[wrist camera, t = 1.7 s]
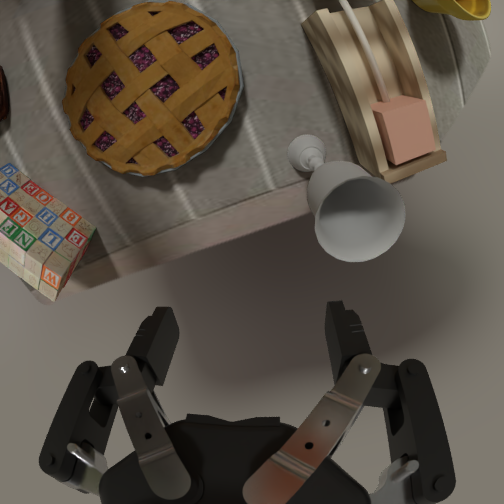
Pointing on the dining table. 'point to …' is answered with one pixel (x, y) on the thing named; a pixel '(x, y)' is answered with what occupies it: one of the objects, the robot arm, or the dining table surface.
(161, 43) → the pie
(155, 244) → the dining table surface
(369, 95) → the light wooden box
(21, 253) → the stack of blocks
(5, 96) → the pastry
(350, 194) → the chalice
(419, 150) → the pull block
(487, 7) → the plant pot
